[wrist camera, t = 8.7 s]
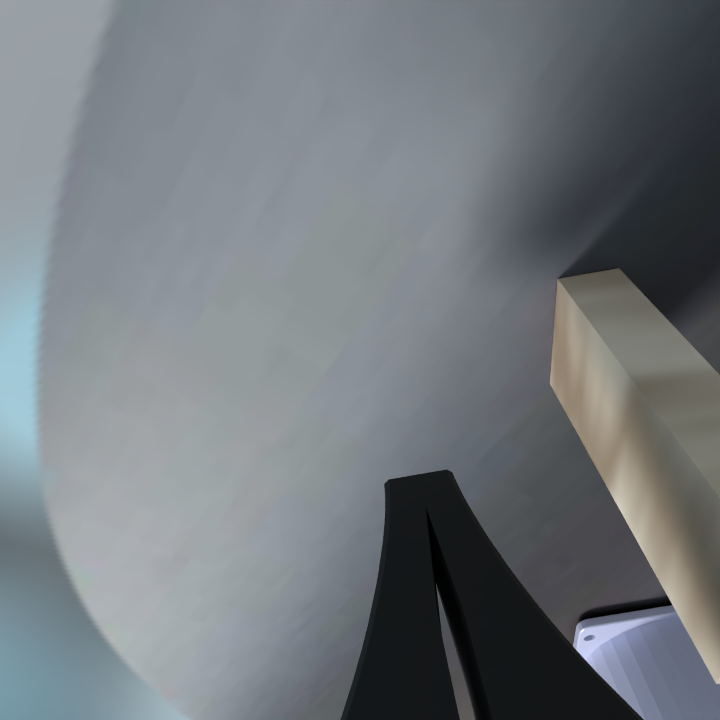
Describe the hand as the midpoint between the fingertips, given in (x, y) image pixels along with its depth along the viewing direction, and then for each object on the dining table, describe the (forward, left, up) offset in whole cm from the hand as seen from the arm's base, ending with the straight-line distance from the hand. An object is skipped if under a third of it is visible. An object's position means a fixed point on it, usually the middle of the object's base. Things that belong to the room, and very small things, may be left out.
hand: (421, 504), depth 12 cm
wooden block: (0, -5, -5) cm, 7 cm away
